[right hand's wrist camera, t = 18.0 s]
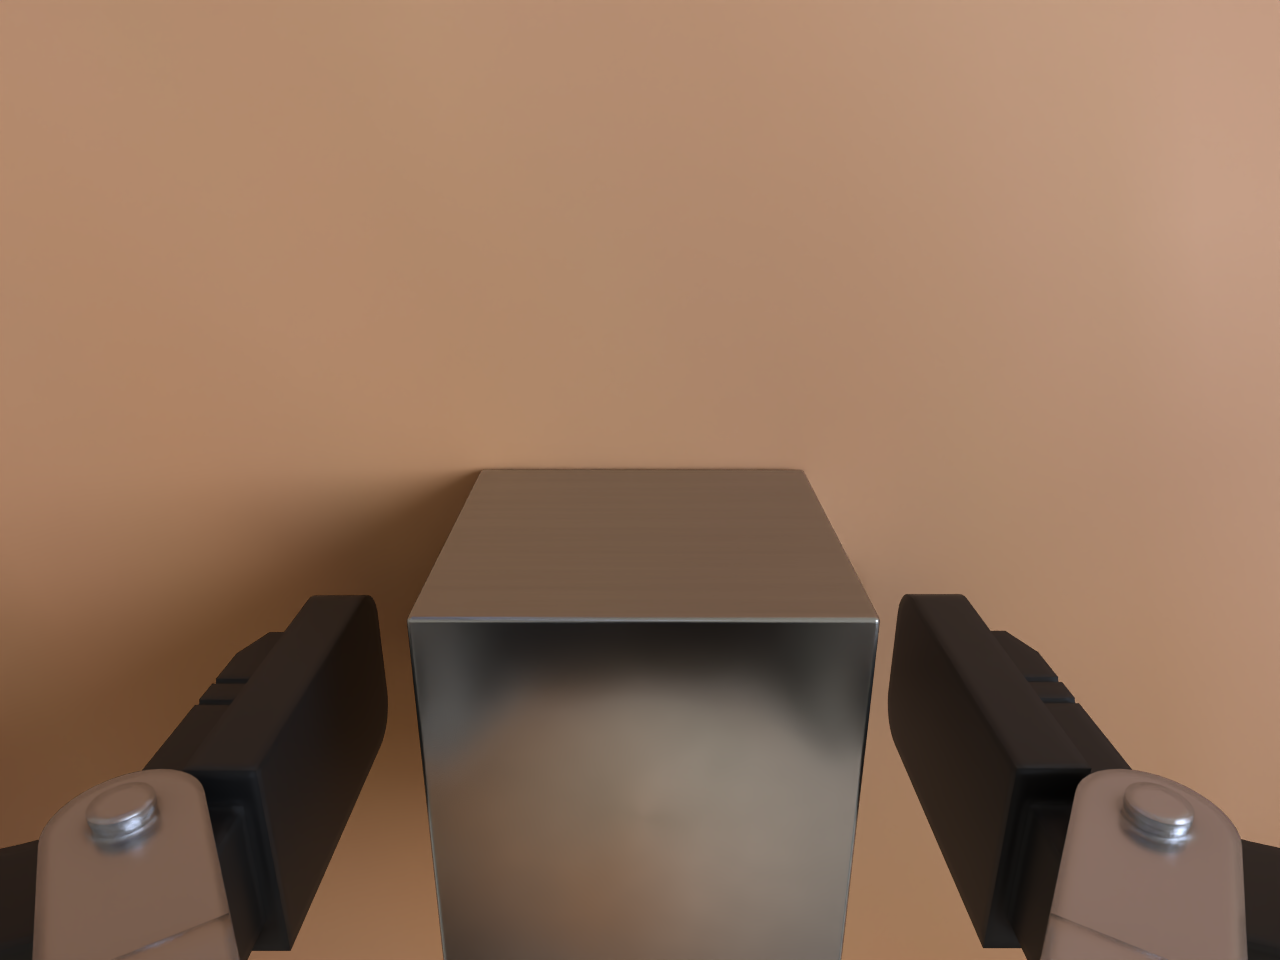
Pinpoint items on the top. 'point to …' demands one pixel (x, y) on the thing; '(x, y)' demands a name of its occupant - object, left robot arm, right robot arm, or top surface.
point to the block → (642, 717)
